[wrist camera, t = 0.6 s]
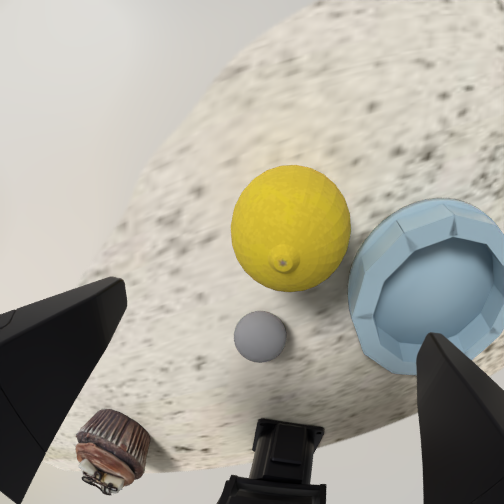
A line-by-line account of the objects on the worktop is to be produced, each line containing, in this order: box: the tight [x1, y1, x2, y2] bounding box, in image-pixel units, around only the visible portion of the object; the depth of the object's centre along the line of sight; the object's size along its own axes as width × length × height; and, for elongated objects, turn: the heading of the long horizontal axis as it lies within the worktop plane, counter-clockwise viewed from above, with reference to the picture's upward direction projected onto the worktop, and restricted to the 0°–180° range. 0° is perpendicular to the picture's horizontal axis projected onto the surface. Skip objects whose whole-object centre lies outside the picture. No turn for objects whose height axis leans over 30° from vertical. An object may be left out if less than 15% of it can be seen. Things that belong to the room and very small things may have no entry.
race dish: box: [348, 198, 504, 375], centre depth 18 cm, size 12×12×3 cm
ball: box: [234, 311, 286, 363], centre depth 21 cm, size 4×4×4 cm
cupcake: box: [76, 409, 150, 495], centre depth 31 cm, size 10×10×10 cm
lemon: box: [231, 165, 351, 292], centre depth 15 cm, size 6×6×8 cm
